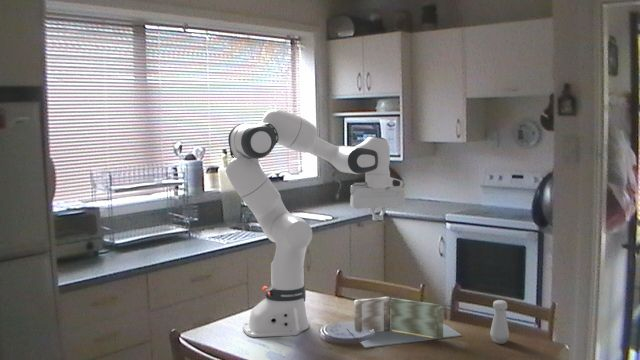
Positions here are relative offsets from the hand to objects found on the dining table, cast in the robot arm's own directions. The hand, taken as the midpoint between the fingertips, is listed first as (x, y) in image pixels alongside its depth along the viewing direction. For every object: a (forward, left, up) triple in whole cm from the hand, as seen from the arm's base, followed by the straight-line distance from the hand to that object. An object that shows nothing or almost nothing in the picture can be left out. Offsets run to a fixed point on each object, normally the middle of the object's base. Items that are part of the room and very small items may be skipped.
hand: (377, 219), depth 221 cm
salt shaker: (+25, -40, -34) cm, 58 cm away
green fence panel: (+2, -28, -33) cm, 43 cm away
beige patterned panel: (-10, -20, -34) cm, 41 cm away
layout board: (0, -23, -34) cm, 41 cm away
